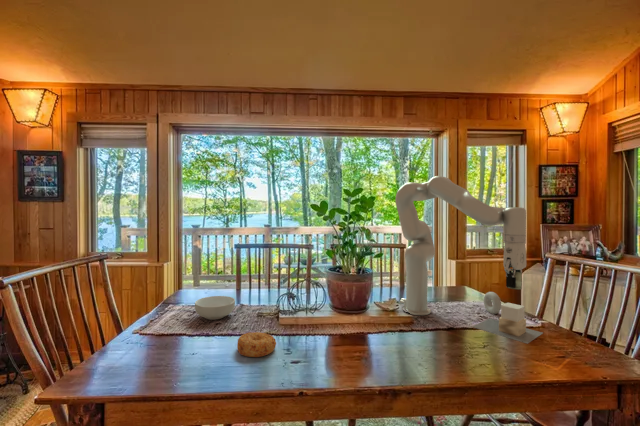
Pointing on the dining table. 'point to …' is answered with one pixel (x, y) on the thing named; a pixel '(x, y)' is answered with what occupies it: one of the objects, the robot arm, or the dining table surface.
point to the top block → (512, 312)
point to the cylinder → (518, 280)
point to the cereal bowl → (214, 307)
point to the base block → (512, 326)
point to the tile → (493, 327)
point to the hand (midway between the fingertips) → (514, 285)
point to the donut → (496, 301)
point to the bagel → (256, 344)
